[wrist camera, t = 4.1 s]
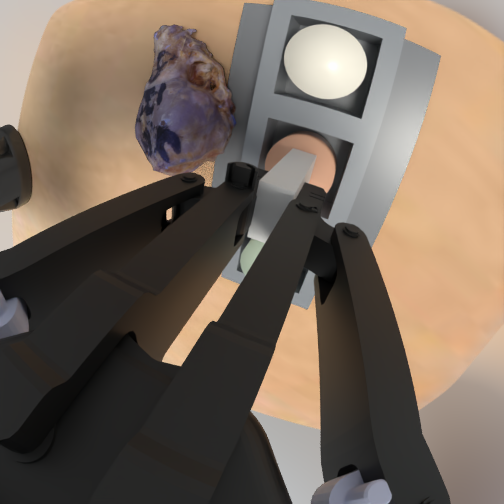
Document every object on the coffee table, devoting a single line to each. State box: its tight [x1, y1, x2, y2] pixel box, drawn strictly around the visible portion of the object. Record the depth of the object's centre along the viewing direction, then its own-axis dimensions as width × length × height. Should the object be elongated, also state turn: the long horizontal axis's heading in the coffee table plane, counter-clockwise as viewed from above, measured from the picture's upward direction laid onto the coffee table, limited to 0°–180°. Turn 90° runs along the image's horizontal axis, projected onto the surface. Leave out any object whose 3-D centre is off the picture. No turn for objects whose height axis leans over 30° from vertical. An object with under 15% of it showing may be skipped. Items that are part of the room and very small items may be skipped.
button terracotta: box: [265, 131, 337, 193], centre depth 18 cm, size 4×4×2 cm
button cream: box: [284, 24, 367, 99], centre depth 13 cm, size 4×4×2 cm
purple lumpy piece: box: [135, 25, 236, 176], centre depth 17 cm, size 12×8×6 cm, turn 7°
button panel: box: [212, 0, 441, 309], centre depth 18 cm, size 14×22×4 cm, turn 169°
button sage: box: [240, 238, 265, 276], centre depth 21 cm, size 4×4×2 cm
